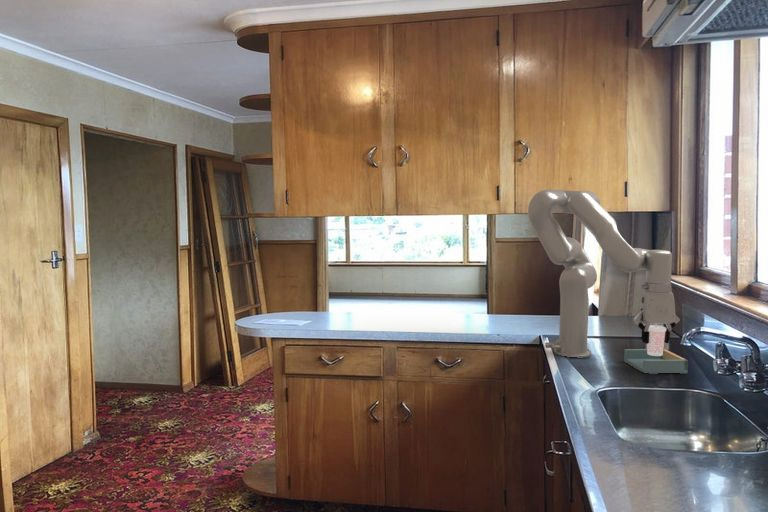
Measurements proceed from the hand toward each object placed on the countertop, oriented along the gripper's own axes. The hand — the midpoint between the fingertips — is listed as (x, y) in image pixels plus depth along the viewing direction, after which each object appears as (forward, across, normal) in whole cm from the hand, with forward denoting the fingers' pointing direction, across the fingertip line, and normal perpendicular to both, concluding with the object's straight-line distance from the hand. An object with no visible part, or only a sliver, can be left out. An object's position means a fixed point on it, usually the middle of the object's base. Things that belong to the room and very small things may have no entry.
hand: (655, 341), depth 192 cm
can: (+9, +10, +17) cm, 22 cm away
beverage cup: (+4, 0, 0) cm, 4 cm away
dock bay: (+9, 0, 0) cm, 9 cm away
